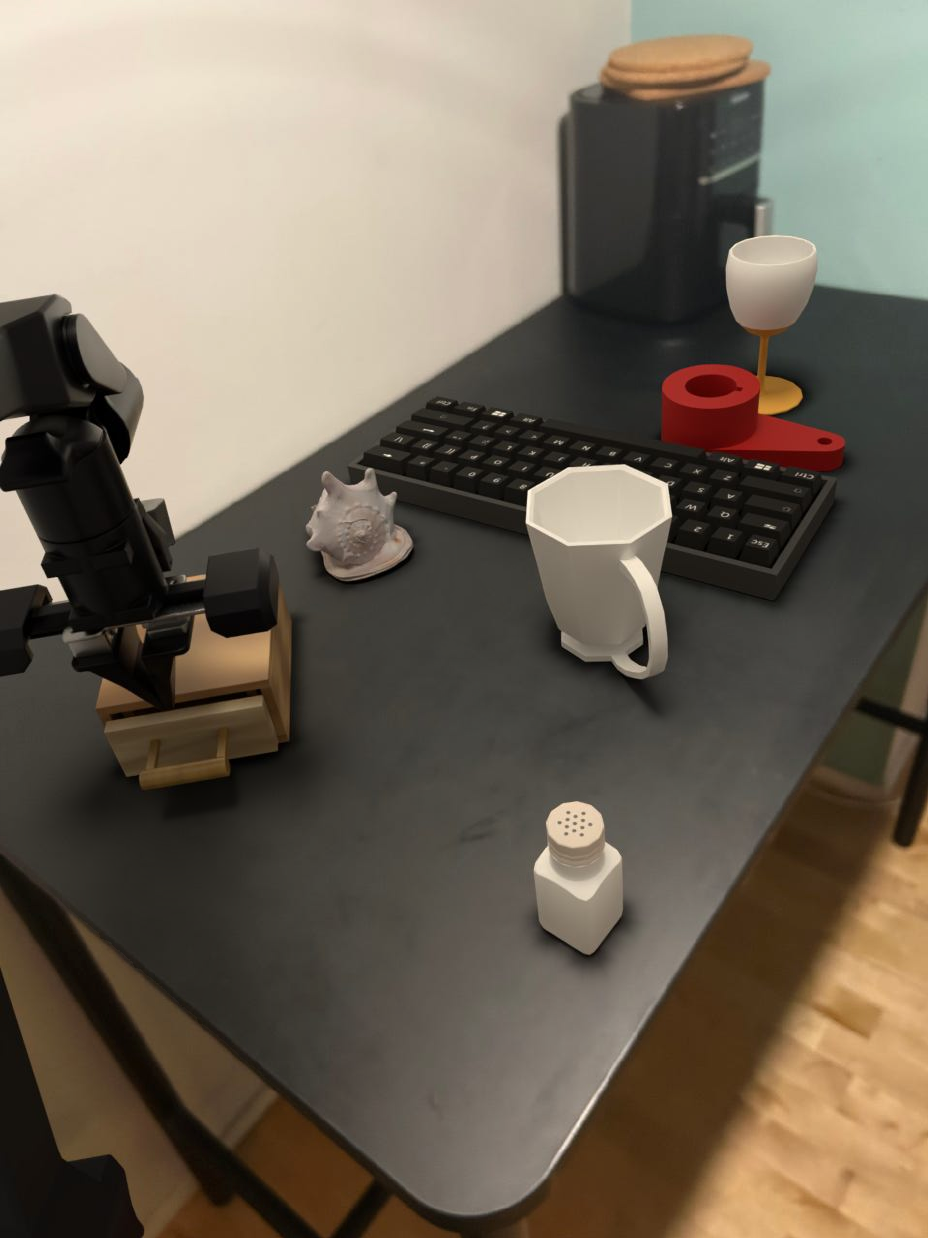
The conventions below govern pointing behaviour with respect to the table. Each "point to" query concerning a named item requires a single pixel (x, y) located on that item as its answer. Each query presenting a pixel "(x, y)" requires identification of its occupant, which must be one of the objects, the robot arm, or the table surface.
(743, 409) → the lever
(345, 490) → the seashell
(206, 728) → the drawer
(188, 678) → the cabinet
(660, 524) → the cup
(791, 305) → the cup
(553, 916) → the pepper shaker
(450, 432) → the computer keyboard
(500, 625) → the table surface
